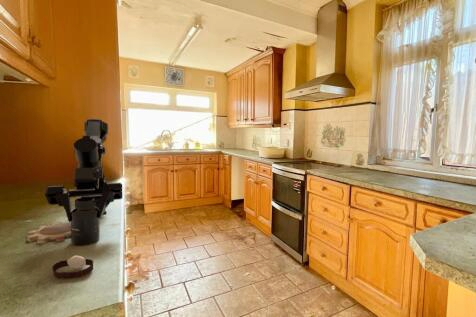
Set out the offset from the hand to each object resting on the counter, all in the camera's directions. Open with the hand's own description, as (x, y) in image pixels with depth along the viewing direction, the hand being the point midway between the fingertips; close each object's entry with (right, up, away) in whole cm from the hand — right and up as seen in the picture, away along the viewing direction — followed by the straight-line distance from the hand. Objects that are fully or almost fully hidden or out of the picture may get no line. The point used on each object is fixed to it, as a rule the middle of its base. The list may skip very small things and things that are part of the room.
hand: (84, 219), depth 66 cm
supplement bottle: (-1, -7, +2) cm, 7 cm away
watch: (+7, -8, -14) cm, 18 cm away
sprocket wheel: (-12, -6, +7) cm, 15 cm away
